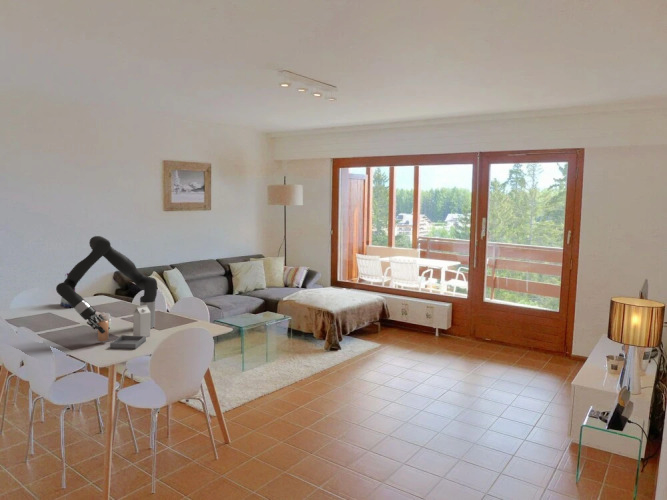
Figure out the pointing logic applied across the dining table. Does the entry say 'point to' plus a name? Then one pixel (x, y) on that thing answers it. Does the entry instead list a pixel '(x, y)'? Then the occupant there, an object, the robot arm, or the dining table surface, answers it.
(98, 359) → the dining table surface
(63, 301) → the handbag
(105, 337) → the tan cylinder
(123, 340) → the tray
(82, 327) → the dining table surface
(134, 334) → the milk carton
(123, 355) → the dining table surface
